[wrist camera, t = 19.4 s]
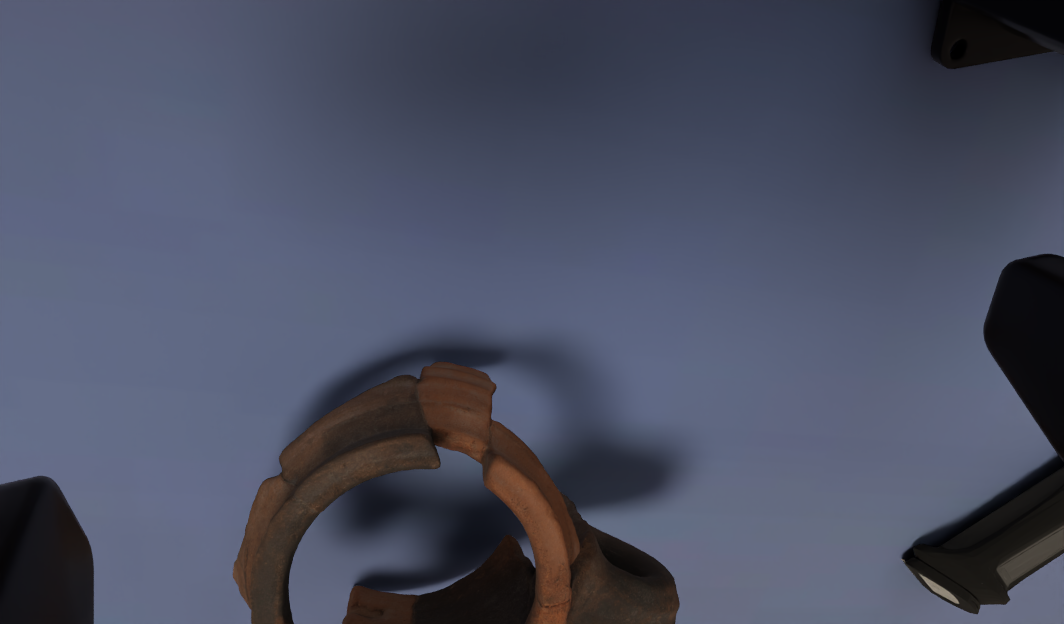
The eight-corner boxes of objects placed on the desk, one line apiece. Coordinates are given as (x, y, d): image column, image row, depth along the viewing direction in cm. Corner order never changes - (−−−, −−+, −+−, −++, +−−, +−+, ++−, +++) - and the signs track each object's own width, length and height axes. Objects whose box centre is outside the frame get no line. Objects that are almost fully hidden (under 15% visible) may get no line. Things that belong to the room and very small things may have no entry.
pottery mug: (255, 610, 27) (183, 774, 19) (299, 317, 27) (244, 359, 19) (619, 650, 29) (696, 816, 21) (671, 375, 28) (771, 437, 20)
